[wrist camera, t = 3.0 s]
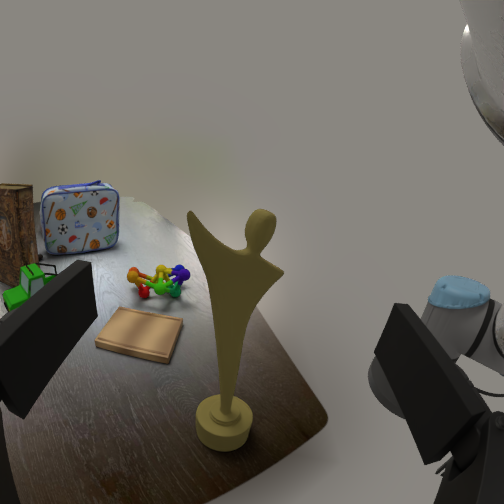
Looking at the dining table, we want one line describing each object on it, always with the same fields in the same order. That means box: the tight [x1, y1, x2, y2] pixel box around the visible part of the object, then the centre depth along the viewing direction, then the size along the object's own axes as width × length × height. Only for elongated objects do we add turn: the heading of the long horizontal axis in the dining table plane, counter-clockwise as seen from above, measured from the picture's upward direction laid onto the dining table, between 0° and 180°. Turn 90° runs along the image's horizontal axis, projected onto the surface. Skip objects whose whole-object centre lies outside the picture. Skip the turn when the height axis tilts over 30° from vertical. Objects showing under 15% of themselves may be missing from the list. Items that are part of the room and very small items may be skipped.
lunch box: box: [40, 180, 120, 255], centre depth 76 cm, size 28×10×22 cm, turn 131°
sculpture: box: [187, 209, 284, 452], centre depth 28 cm, size 11×7×30 cm, turn 129°
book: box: [0, 183, 40, 287], centre depth 50 cm, size 16×6×25 cm, turn 85°
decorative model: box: [127, 265, 190, 298], centre depth 62 cm, size 13×9×15 cm
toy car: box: [3, 263, 58, 312], centre depth 46 cm, size 8×17×10 cm, turn 151°
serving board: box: [95, 306, 183, 364], centre depth 49 cm, size 14×12×2 cm
